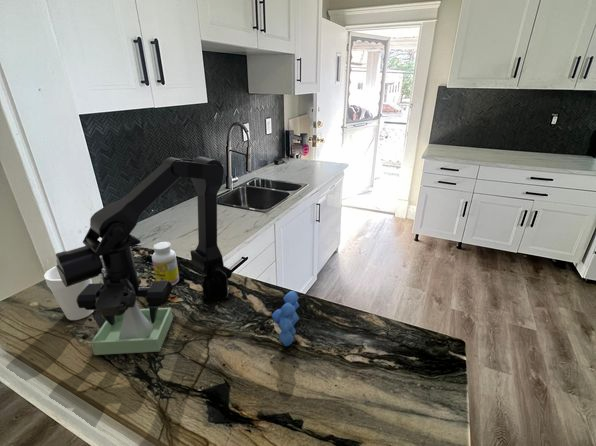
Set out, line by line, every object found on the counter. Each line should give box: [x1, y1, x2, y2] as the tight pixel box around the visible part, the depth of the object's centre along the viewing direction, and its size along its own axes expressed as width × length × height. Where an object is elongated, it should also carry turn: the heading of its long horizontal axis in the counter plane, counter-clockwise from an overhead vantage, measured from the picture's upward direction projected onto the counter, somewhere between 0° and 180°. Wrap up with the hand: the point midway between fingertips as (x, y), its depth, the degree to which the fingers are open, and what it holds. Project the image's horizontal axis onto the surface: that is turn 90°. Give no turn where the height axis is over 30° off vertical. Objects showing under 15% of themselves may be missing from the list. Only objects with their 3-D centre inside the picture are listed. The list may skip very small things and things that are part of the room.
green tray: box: [90, 307, 174, 356], centre depth 75 cm, size 14×11×4 cm
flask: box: [119, 298, 154, 340], centre depth 74 cm, size 7×7×10 cm
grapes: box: [271, 290, 300, 347], centre depth 74 cm, size 12×7×12 cm, turn 170°
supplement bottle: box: [151, 241, 180, 287], centre depth 95 cm, size 7×7×13 cm
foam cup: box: [43, 265, 95, 321], centre depth 81 cm, size 10×9×13 cm
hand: (133, 323), depth 75 cm, fingers open, 9 cm apart
